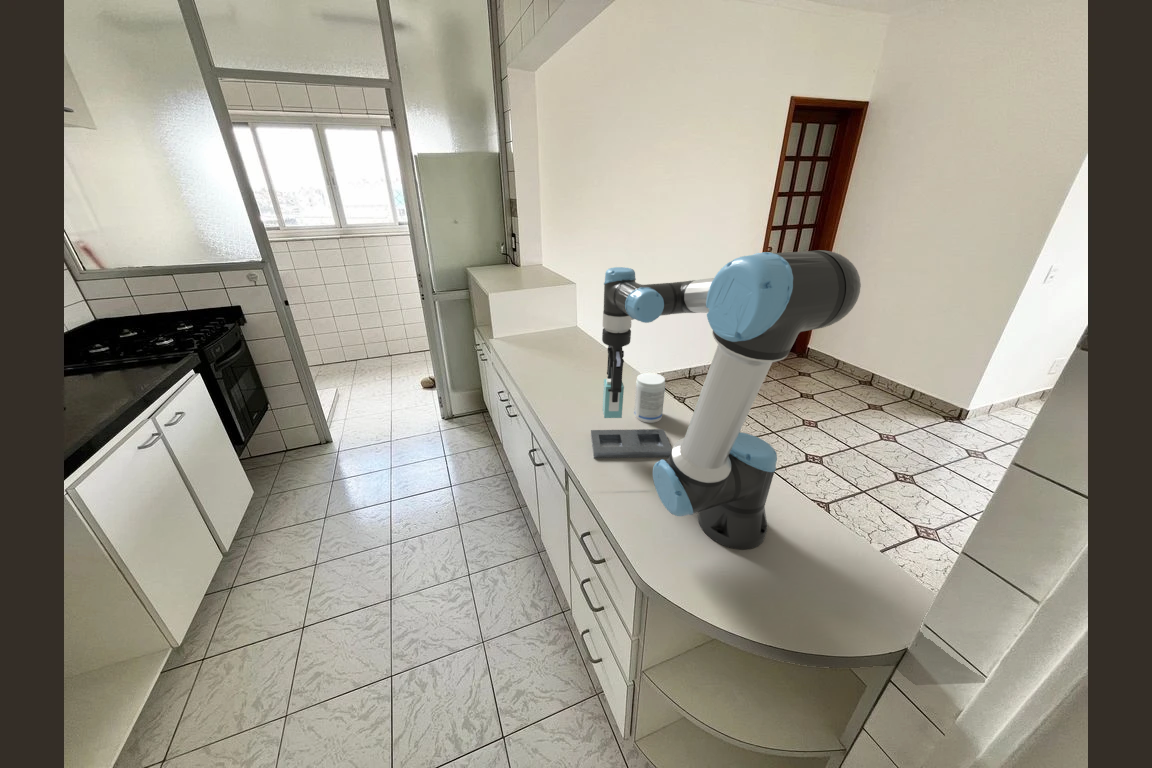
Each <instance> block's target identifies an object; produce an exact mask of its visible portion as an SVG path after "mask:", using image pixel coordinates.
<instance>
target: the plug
mask: <svg viewBox="0 0 1152 768" xmlns="http://www.w3.org/2000/svg"><path fill="white" fill-rule="evenodd" d="M608 389H611V379H608V378H604V379H603V390H602V391H603V393H602V395H603V396H602V398H603V399H602V412H603V413H602V414H603V418H604V419H622V418H623V404H624V392H625V391H624V390H625V386H624V382H623V381H622V387H621V389H622V391H621V392H620V397H619V411H609V396H610V392H608Z"/></svg>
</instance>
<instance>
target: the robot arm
mask: <svg viewBox="0 0 1152 768" xmlns="http://www.w3.org/2000/svg"><path fill="white" fill-rule="evenodd" d="M604 275H605V276H604V282H603V287H604V288H603V290H604V291H603V311H602V334H601V335H602V337H601V341H602V343H603V344H605V345H606V346H607V364H606V365H607V367H606V368H607V369H606V375H607V376H606V377H607V378H606V379H611V389H608V392H610V396H609V411H619V397H620V392H621V391H622V389H621V387H622V382H623V371H624V369H623V368H624V362H625V360H624V359H623V358H624V356H625V351H624V350H623V347H627V346H628V345H630V343H631V339H632V337H631V336H632V330H631V328H632V324H633V323H632V321H633V320H636V321H638V322H640V323H644V324H647V323H648V324H649V323H653V322H654V321H655V320H657V319H659V318H660V317H661V316H669V315H677V314H700V313H701V314H705V313H706V318H707V320H708V324H709V326H710V328H711V329H712V332H711V333H712V338H713V340H715V342H716V343H717V347H716V350H715V351H714V355H713V358H712V361H711V363H710V365H709V366H710V367H709V369H708V371H707V374H706V377H705V379H704V383H703V385H702V388H701V390H700V393H699V397H698V398H697V399H698V400H697V402H696V404H695V408H694V409H693V410H694V411H693V413H692V416H691V419H690V422H689V424H688V427H687V430H686V433H685V435H684V437H683V438H680V439H679V440H677V441H676V442H675V443H674V445H673V446H672V447H671V448H672V451H671V454H670V457H667V459H663V458H662V459H660V460H658V461H657V462H655V463H654V465H653V467H652V479H653V484H654V487H655V490H656V493H657V496H658V498H659V500H660V502H661V503H662V504H663V506H664V508H665V509H666V510H667V511H668V512H669V514H672V515H674V516H676V517H685V516H692V515H694V514H697V513H698V515H697V520H698V525H699V527H700V528H701V530H702V531H703V532H704V533H705V534H706V536H707V537H709V538H710V539H711V540H713V542H716V543H718V544H719V545H722V546H724V547H727V548H731V549H736V550H750V549H753V548H754V549H755V548H757V547H759V546H760V545H761V544H762V543H764V541H765V539H766V535H767V531H768V521H767V514H766V513H767V512H766V507H765V505H766V503H767V499H768V495H769V492H770V489H771V485H772V482H773V477H774V475H775V472H776V470H777V467H776V466H777V461H778V454H777V452H776V449H774V447H773V446H772V445H771V444H770V443H768V442H767V441H766V440H764V439H762V438H760V437H757V436H756V435H753V434H750V433H747V432H741V430H742V428H743V426H744V424H745V421H746V419H747V417H748V415H749V413H750V411H751V409H752V407H753V404H754V402H755V401H756V398H757V396H758V394H759V392H760V389H761V387H762V385H763V383H764V381H765V379H766V377H767V374H768V373H769V371H770V368H771V366H772V364H773V363H776V362H780V361H783V360H784V359H786V358H787V357H788V355H789V353H790V352H791V349H792V347H793V345H794V344H795V342H796V339H797V338H798V335H799V334H800V333H802V332H806V331H807V332H808V331H812V330H818V329H824V328H827V327H830V326H832V325H834V324H836V323H838V322H840V321H841V320H842V319H843V318H845V317H846V316H847V315H848V314H849V313H850V312H851V311H852V310H853V308H854V307H855V305H856V304H857V302H858V299H859V296H860V293H861V287H862V286H861V285H862V284H861V277H860V275H859V272H858V270H857V267H856V266H855V265H854V263H852V262H851V261H850V259H848V258H847V257H845V256H843V255H842V254H841V253H838V252H835V251H830V250H820V249H818V250H805V251H804V250H803V251H789V252H769V251H768V252H767V251H765V252H757V253H754V254H749V255H744V256H739V257H736V258H734V259H733V260H731V261H729V262H727V263H726V264H725V265H724V266H723V267H721V268H720V269H719V271H718V272H717V273H716V274H715V276H714V277H710V278H703V279H692V280H688V281H687V280H684V281H675V282H661V283H650V284H649V283H648V284H640V283H638V282H636V280H637V279H636V271H635V270H634V269H633V268H629V267H625V266H624V267H621V266H618V267H617V266H616V267H610V268H608V269H606V271H605V273H604Z"/></svg>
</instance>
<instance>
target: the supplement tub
mask: <svg viewBox="0 0 1152 768" xmlns="http://www.w3.org/2000/svg"><path fill="white" fill-rule="evenodd" d="M665 389H666V378H665V377H664V376H663V375H661V374H659V373H654V372H644V373H641V374H638V375H637V376H636V381H635V392H634V393H635V395H634V408H633V410H634V411H633V415H634V417H635V418H636V420H638V421H640V422H643V423H649V424H650V423H652V424H653V423H656V422H659V421H661V419H662V418H663V412H664V402H665V392H666V390H665Z"/></svg>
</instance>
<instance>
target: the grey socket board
mask: <svg viewBox="0 0 1152 768" xmlns="http://www.w3.org/2000/svg"><path fill="white" fill-rule="evenodd" d="M590 438H591V439H590V440H591V441H590V442H591V447H592V454H593V459H639V458H640V459H647V458H649V459H650V458H669V457H670V454H671V451H672V448H673V447H672V446H671V443H670V441H669V439H668V437H667V434H666V431H665V429H664V428H659V429H658V428H656V429H653V428H651V429H648V428H647V429H646V428H645V429H591V430H590Z"/></svg>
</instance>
